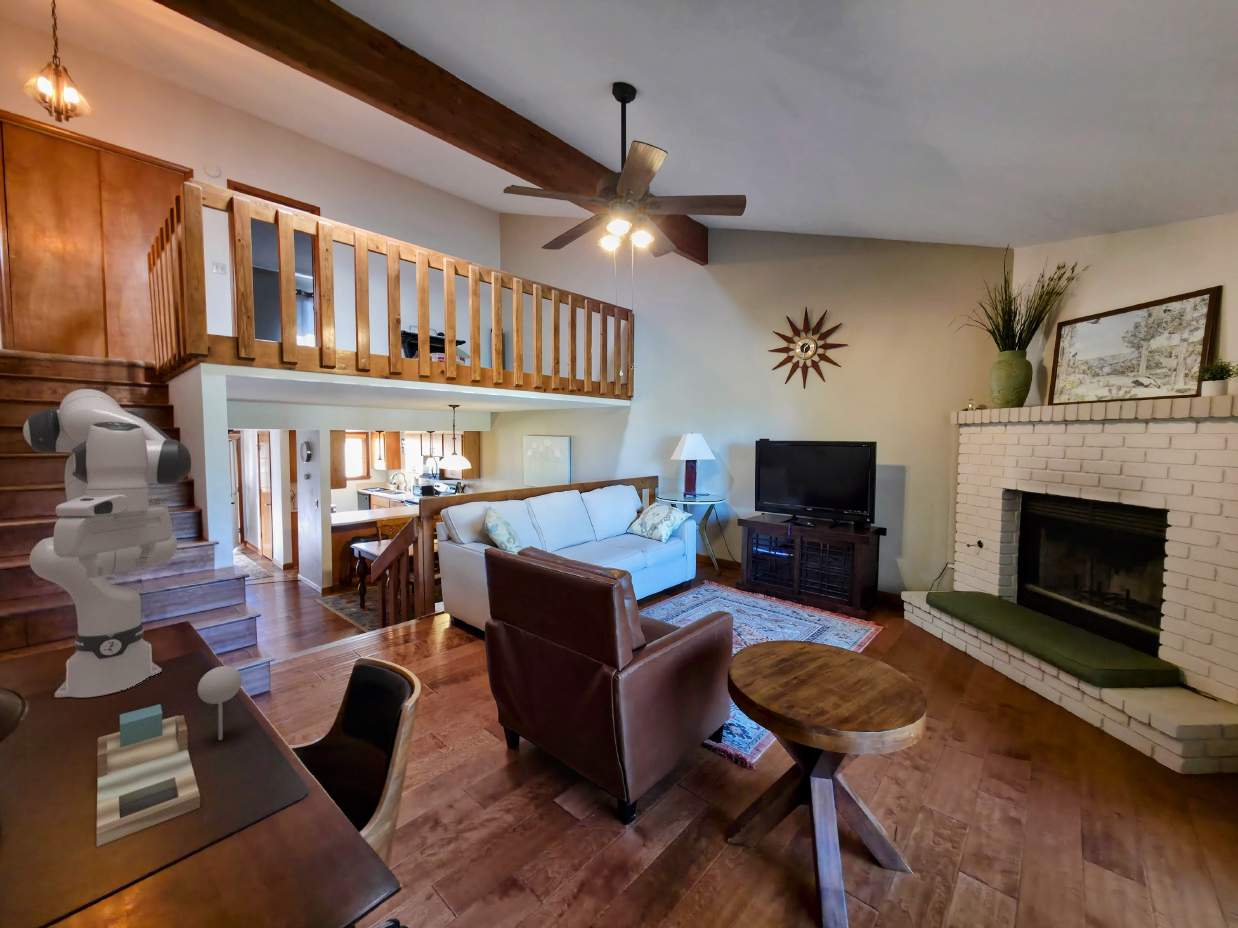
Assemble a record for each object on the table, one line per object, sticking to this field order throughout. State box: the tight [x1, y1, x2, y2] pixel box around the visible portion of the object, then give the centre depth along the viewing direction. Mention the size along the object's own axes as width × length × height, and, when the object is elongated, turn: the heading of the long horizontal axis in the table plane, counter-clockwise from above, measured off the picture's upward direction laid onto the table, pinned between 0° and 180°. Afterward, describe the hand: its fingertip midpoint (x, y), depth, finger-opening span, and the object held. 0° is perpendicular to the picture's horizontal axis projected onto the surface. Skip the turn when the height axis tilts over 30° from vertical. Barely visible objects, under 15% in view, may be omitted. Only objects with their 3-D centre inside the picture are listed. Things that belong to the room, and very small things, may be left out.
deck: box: [96, 714, 201, 848], centre depth 92 cm, size 35×12×6 cm, turn 46°
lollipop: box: [197, 665, 243, 741], centre depth 103 cm, size 7×7×15 cm
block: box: [119, 703, 163, 747], centre depth 101 cm, size 5×6×4 cm
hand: (119, 571), depth 101 cm, fingers open, 8 cm apart
